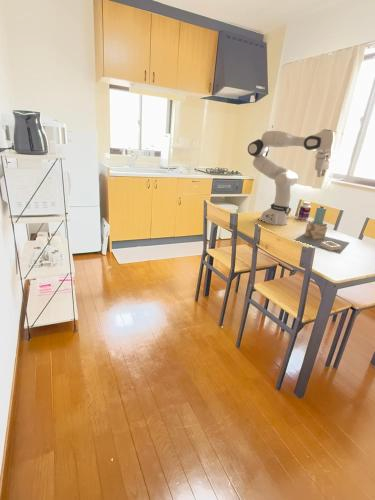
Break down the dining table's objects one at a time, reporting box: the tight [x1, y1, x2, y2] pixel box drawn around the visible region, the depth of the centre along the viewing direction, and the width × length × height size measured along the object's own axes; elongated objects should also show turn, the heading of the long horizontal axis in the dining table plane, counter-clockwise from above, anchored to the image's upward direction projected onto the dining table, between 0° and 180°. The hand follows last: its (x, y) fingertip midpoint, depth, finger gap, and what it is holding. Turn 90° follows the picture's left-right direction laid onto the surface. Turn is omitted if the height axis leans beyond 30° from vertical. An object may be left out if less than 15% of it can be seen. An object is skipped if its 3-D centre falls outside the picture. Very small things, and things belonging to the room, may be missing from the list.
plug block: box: [313, 205, 327, 224], centre depth 183 cm, size 4×4×13 cm
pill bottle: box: [297, 201, 312, 221], centre depth 230 cm, size 8×8×14 cm
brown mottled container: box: [304, 220, 328, 239], centre depth 186 cm, size 9×9×10 cm
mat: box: [294, 232, 350, 255], centre depth 179 cm, size 28×28×1 cm
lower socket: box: [320, 241, 341, 252], centre depth 169 cm, size 8×8×2 cm
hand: (320, 176), depth 188 cm, fingers open, 8 cm apart
